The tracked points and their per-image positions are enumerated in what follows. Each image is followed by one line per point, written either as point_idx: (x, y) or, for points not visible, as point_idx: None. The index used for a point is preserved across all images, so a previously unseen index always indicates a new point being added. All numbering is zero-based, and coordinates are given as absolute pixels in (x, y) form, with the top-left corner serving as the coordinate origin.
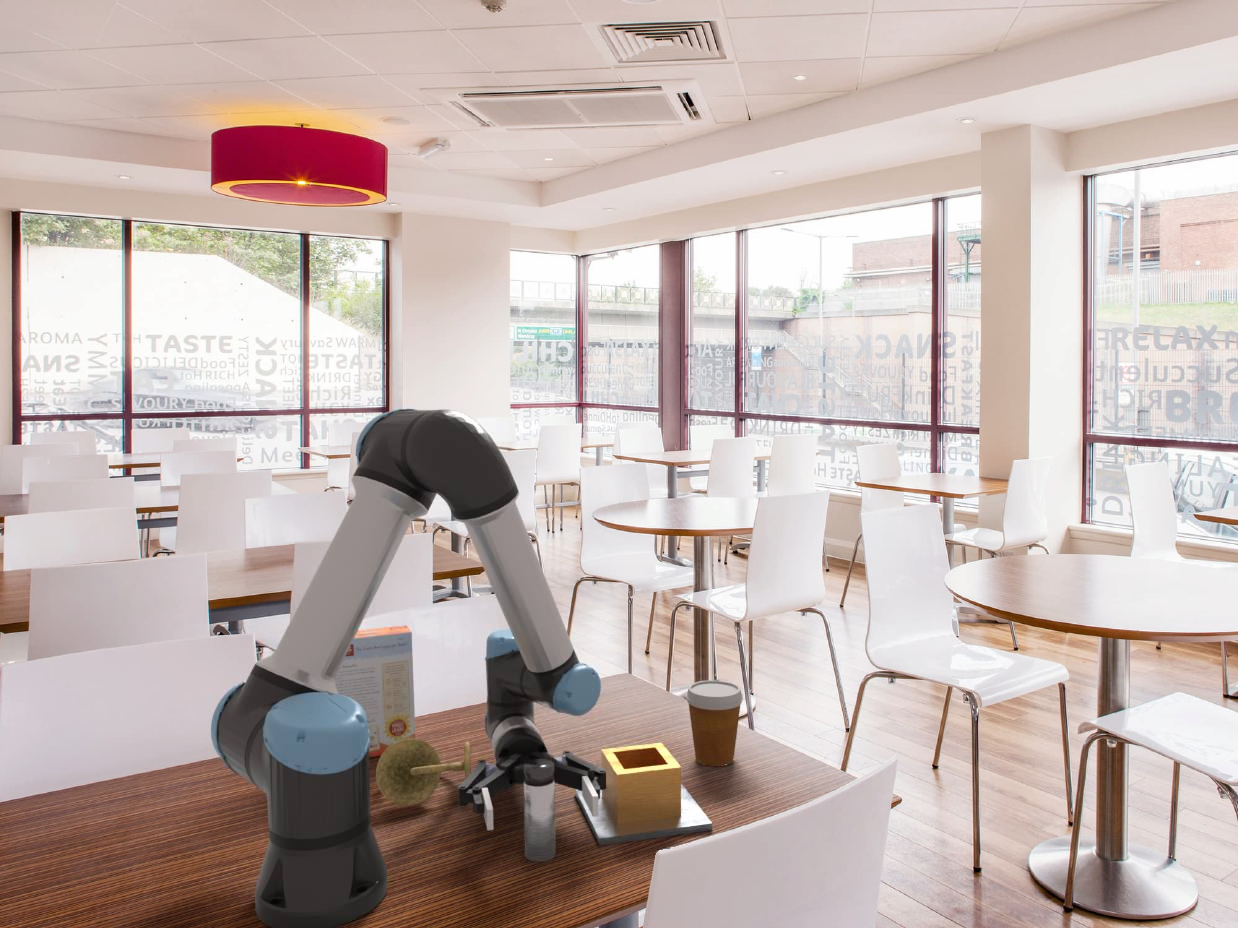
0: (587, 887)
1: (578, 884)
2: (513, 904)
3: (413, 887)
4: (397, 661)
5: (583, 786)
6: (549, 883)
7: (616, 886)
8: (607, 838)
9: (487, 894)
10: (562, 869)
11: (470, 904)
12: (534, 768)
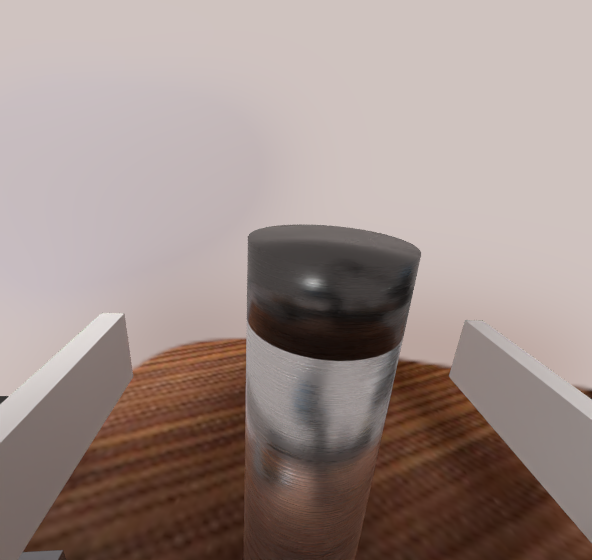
0: (219, 384)
1: (232, 394)
2: None
3: None
4: None
5: (7, 491)
6: None
7: (167, 377)
8: (28, 554)
9: (407, 402)
10: None
11: (427, 385)
12: (351, 234)
